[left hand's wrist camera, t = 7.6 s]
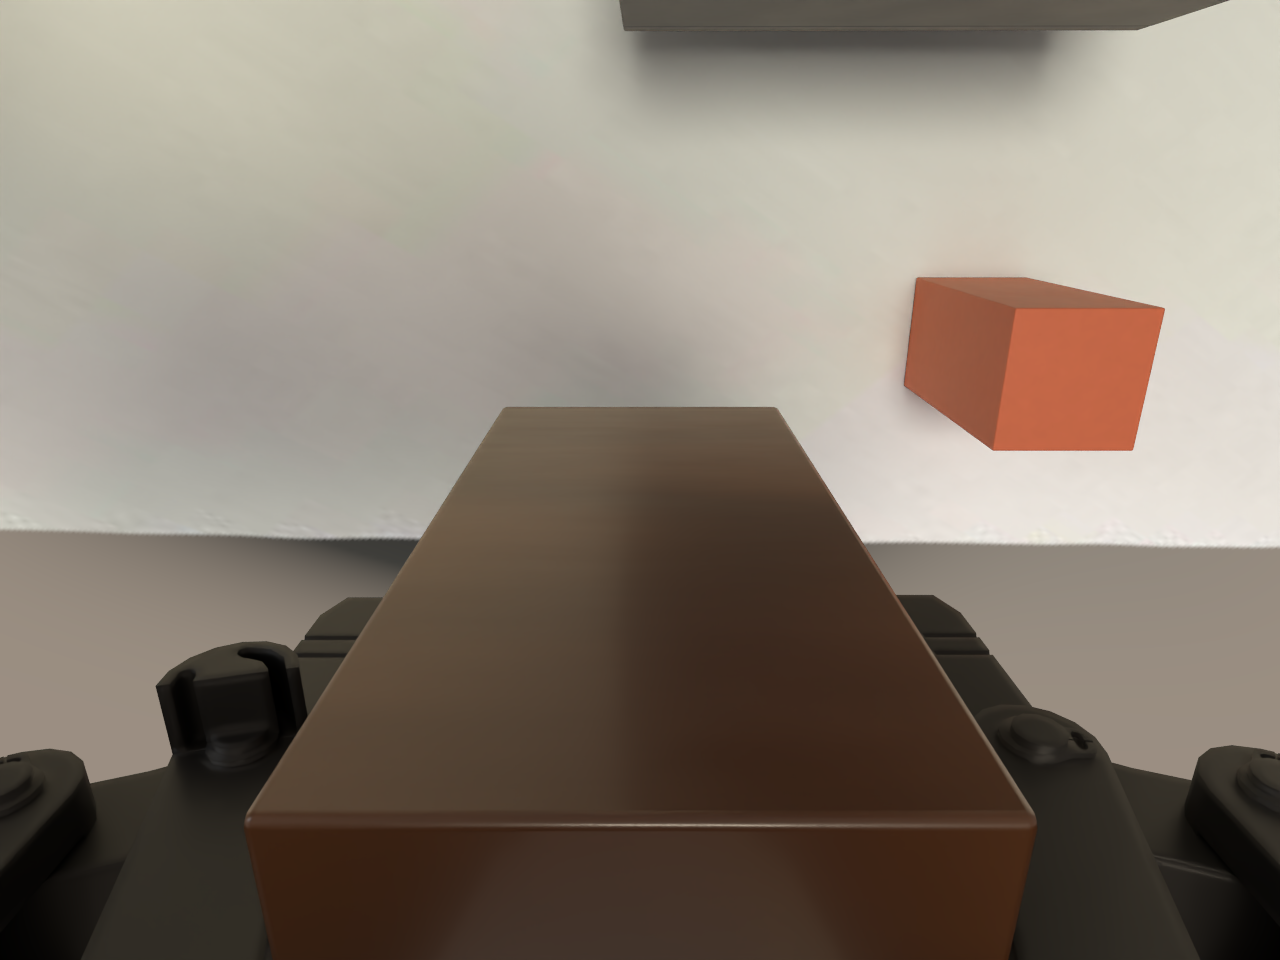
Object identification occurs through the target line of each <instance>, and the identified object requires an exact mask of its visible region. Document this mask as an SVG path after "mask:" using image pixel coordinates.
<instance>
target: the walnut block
mask: <svg viewBox="0 0 1280 960" xmlns="http://www.w3.org/2000/svg"><path fill="white" fill-rule="evenodd" d="M244 833H245V837H246V842H247V846H248V851H249V855H250V860H251V864H252V869H253V873H254V878H255V882H256V887H257V891H258V896H259V900H260V905H261V909H262V914H263V918H264V923H265V927H266V932H267V936H268V941H269V945H270V950H271V954H272V959H273V960H1008V959H1009V955H1010V950H1011V946H1012V941H1013V937H1014V932H1015V928H1016V923H1017V919H1018V914H1019V910H1020V905H1021V901H1022V896H1023V892H1024V887H1025V883H1026V878H1027V874H1028V869H1029V865H1030V860H1031V855H1032V851H1033V846H1034V842H1035V837H1036V833H1037V820H1036V817H1035V813H1034V812H1033V810H1032V808H1031V807H1030V805H1029V804H1028V802H1027V800H1026V799H1025V797H1024V796H1023V794H1022V793H1021V791H1020V789H1019V788H1018V786H1017V785H1016V783H1015V782H1014V780H1013V778H1012V777H1011V775H1010V774H1009V772H1008V771H1007V769H1006V767H1005V766H1004V764H1003V763H1002V761H1001V760H1000V758H999V756H998V755H997V753H996V752H995V750H994V749H993V747H992V745H991V744H990V742H989V741H988V739H987V738H986V736H985V734H984V733H983V731H982V730H981V728H980V727H979V725H978V723H977V722H976V720H975V719H974V717H973V716H972V714H971V712H970V711H969V709H968V708H967V706H966V705H965V703H964V701H963V700H962V698H961V697H960V695H959V694H958V692H957V690H956V689H955V687H954V686H953V684H952V683H951V681H950V679H949V678H948V676H947V675H946V673H945V672H944V670H943V668H942V667H941V665H940V664H939V662H938V660H937V659H936V657H935V656H934V654H933V653H932V651H931V649H930V648H929V646H928V645H927V643H926V642H925V640H924V638H923V637H922V635H921V634H920V632H919V631H918V629H917V627H916V626H915V624H914V623H913V621H912V620H911V618H910V616H909V615H908V613H907V612H906V610H905V609H904V607H903V605H902V604H901V602H900V601H899V599H898V598H897V596H896V594H895V593H894V591H893V590H892V588H891V587H890V585H889V583H888V582H887V580H886V579H885V577H884V576H883V574H882V573H881V571H880V569H879V568H878V566H877V565H876V563H875V561H874V560H873V558H872V557H871V555H870V554H869V552H868V550H867V549H866V547H865V546H864V544H863V543H862V541H861V539H860V538H859V536H858V535H857V533H856V532H855V530H854V528H853V527H852V525H851V524H850V522H849V520H848V519H847V517H846V516H845V514H844V513H843V511H842V509H841V508H840V506H839V505H838V503H837V502H836V500H835V498H834V497H833V495H832V494H831V492H830V491H829V489H828V487H827V486H826V484H825V483H824V481H823V480H822V478H821V476H820V475H819V473H818V472H817V470H816V469H815V467H814V465H813V464H812V462H811V461H810V459H809V458H808V456H807V454H806V453H805V451H804V450H803V448H802V447H801V445H800V443H799V442H798V440H797V439H796V437H795V436H794V434H793V432H792V431H791V429H790V428H789V426H788V425H787V423H786V421H785V420H784V418H783V417H782V415H781V414H780V412H779V410H778V409H777V408H775V407H506V408H503V409H502V411H501V413H500V414H499V416H498V417H497V419H496V421H495V422H494V424H493V425H492V427H491V428H490V430H489V432H488V433H487V435H486V436H485V438H484V439H483V441H482V443H481V444H480V446H479V447H478V449H477V450H476V452H475V454H474V455H473V457H472V458H471V460H470V462H469V463H468V465H467V466H466V468H465V469H464V471H463V473H462V474H461V476H460V477H459V479H458V480H457V482H456V484H455V485H454V487H453V488H452V490H451V491H450V493H449V495H448V496H447V498H446V499H445V501H444V503H443V504H442V506H441V507H440V509H439V510H438V512H437V514H436V515H435V517H434V518H433V520H432V521H431V523H430V525H429V526H428V528H427V529H426V531H425V532H424V534H423V536H422V537H421V539H420V540H419V542H418V544H417V545H416V547H415V548H414V550H413V552H412V553H411V555H410V556H409V558H408V559H407V561H406V563H405V564H404V566H403V567H402V569H401V570H400V572H399V573H398V575H397V577H396V578H395V580H394V581H393V583H392V585H391V586H390V588H389V589H388V591H387V593H386V594H385V596H384V597H383V599H382V600H381V602H380V603H379V605H378V607H377V608H376V610H375V611H374V613H373V614H372V616H371V618H370V619H369V621H368V622H367V624H366V626H365V627H364V629H363V630H362V632H361V633H360V635H359V637H358V638H357V640H356V641H355V643H354V644H353V646H352V648H351V649H350V651H349V652H348V654H347V655H346V657H345V659H344V660H343V662H342V663H341V665H340V667H339V668H338V670H337V671H336V673H335V674H334V676H333V678H332V679H331V681H330V682H329V684H328V685H327V687H326V689H325V690H324V692H323V693H322V695H321V696H320V698H319V700H318V701H317V703H316V704H315V706H314V708H313V709H312V711H311V712H310V714H309V715H308V717H307V719H306V720H305V722H304V723H303V725H302V726H301V728H300V730H299V731H298V733H297V734H296V736H295V737H294V739H293V741H292V742H291V744H290V745H289V747H288V749H287V750H286V752H285V753H284V755H283V756H282V758H281V760H280V761H279V763H278V764H277V766H276V767H275V769H274V771H273V772H272V774H271V775H270V777H269V778H268V780H267V782H266V783H265V785H264V786H263V788H262V790H261V791H260V793H259V794H258V796H257V797H256V799H255V801H254V802H253V804H252V805H251V807H250V808H249V810H248V812H247V814H246V817H245V820H244Z"/></svg>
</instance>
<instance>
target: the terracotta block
mask: <svg viewBox="0 0 1280 960" xmlns="http://www.w3.org/2000/svg"><path fill="white" fill-rule="evenodd" d="M1164 311H1165V309H1164V308H1162V307H1157V306H1153V305H1148V304H1144V303H1139V302H1134V301H1130V300H1125V299H1121V298H1116V297H1112V296H1107V295H1103V294H1098V293H1094V292H1089V291H1084V290H1080V289H1075V288H1071V287H1066V286H1062V285H1057V284H1053V283H1048V282H1044V281H1039V280H1034V279H1030V278H917V281H916V289H915V297H914V306H913V314H912V323H911V331H910V340H909V348H908V357H907V365H906V374H905V382H904V386H905V387H907V388H908V389H910V390H911V391H912V392H914V393H915V394H916V395H918V396H919V397H920V398H922V399H923V400H925V401H926V402H927V403H929V404H930V405H931V406H933V407H934V408H936V409H937V410H938V411H940V412H941V413H942V414H944V415H945V416H946V417H948V418H949V419H951V420H952V421H953V422H955V423H956V424H957V425H959V426H960V427H962V428H963V429H964V430H966V431H967V432H968V433H970V434H971V435H973V436H974V437H975V438H977V439H978V440H979V441H981V442H982V443H983V444H985V445H986V446H988V447H989V448H990V449H992V450H993V451H1131V450H1133V448H1134V443H1135V439H1136V434H1137V430H1138V426H1139V421H1140V417H1141V412H1142V408H1143V404H1144V399H1145V395H1146V390H1147V386H1148V382H1149V377H1150V373H1151V368H1152V364H1153V360H1154V355H1155V351H1156V346H1157V342H1158V338H1159V333H1160V329H1161V324H1162V320H1163V316H1164Z"/></svg>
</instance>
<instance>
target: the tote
mask: <svg viewBox="0 0 1280 960" xmlns="http://www.w3.org/2000/svg"><path fill="white" fill-rule="evenodd" d="M1225 1H1228V0H619V2H620V8H621V14H622V21H623V27H624V30H625V31H924V30H1139V29H1142V28H1145V27H1148V26H1152V25H1155V24H1158V23H1161V22H1164V21H1167V20H1170V19H1173V18H1176V17H1179V16H1182V15H1185V14H1189V13H1192V12H1195V11H1198V10H1201V9H1204V8H1207V7H1210V6H1213V5H1216V4H1219V3H1222V2H1225Z"/></svg>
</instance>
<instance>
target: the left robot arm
mask: <svg viewBox="0 0 1280 960" xmlns="http://www.w3.org/2000/svg"><path fill="white" fill-rule="evenodd" d="M443 503H444V502H443ZM896 596H897V598H898V599H899V601H900V602H901V604H902V605H903V607H904V609H905V610H906V612H907V613H908V615H909V616H910V618H911V620H912V621H913V623H914V624H915V626H916V627H917V629H918V631H919V632H920V634H921V635H922V637H923V638H924V640H925V642H926V643H927V645H928V646H929V648H930V649H931V651H932V653H933V654H934V656H935V657H936V659H937V660H938V662H939V664H940V665H941V667H942V668H943V670H944V672H945V673H946V675H947V676H948V678H949V679H950V681H951V683H952V684H953V686H954V687H955V689H956V690H957V692H958V694H959V695H960V697H961V698H962V700H963V701H964V703H965V705H966V706H967V708H968V709H969V711H970V712H971V714H972V716H973V717H974V719H975V720H976V722H977V723H978V725H979V727H980V728H981V730H982V731H983V733H984V734H985V736H986V738H987V739H988V741H989V742H990V744H991V745H992V747H993V749H994V750H995V752H996V753H997V755H998V756H999V758H1000V760H1001V761H1002V763H1003V764H1004V766H1005V767H1006V769H1007V771H1008V772H1009V774H1010V775H1011V777H1012V778H1013V780H1014V782H1015V783H1016V785H1017V786H1018V788H1019V789H1020V791H1021V793H1022V794H1023V796H1024V797H1025V799H1026V800H1027V802H1028V804H1029V805H1030V807H1031V808H1032V810H1033V812H1034V813H1035V817H1036V820H1037V833H1036V837H1035V842H1034V846H1033V851H1032V855H1031V860H1030V865H1029V869H1028V874H1027V878H1026V883H1025V887H1024V892H1023V896H1022V901H1021V905H1020V910H1019V914H1018V919H1017V923H1016V928H1015V932H1014V937H1013V941H1012V946H1011V950H1010V955H1009V959H1008V960H1280V754H1276V753H1274V752H1272V751H1268V750H1263V749H1258V748H1250V747H1241V746H1233V745H1231V746H1224V747H1217V748H1211V749H1209V750H1208V751H1206V752H1205V753H1204V754H1203V755H1201V756H1200V757H1199V758H1198V762H1197V765H1196V768H1195V772H1194V775H1193V778H1192V780H1187V779H1183V778H1178V777H1173V776H1168V775H1163V774H1158V773H1153V772H1149V771H1144V770H1139V769H1134V768H1130V767H1126V766H1122V765H1119V764H1115V763H1111V760H1110V758H1109V756H1108V754H1107V752H1106V751H1105V750H1104V748H1103V747H1102V746H1101V744H1100V743H1099V742H1098V740H1097V739H1096V738H1095V737H1094V736H1093V735H1091V734H1090V733H1089V732H1087V731H1086V730H1085V729H1083V728H1082V727H1080V726H1079V725H1078V724H1076V723H1075V722H1073V721H1071V720H1068V719H1066V718H1064V717H1062V716H1059V715H1057V714H1055V713H1053V712H1050V711H1046V710H1042V709H1038V708H1034V707H1032V706H1031V705H1030V703H1029V702H1028V701H1027V699H1026V698H1025V697H1024V695H1023V694H1022V693H1021V692H1020V690H1019V689H1018V688H1017V686H1016V685H1015V684H1014V682H1013V681H1012V680H1011V678H1010V677H1009V676H1008V674H1007V673H1006V672H1005V671H1004V669H1003V668H1002V667H1001V665H1000V664H999V663H998V661H997V660H996V659H995V657H994V656H993V655H990V654H989V650H988V648H987V647H986V646H985V644H984V643H983V642H982V640H981V639H980V638H979V637H976V632H975V631H974V630H973V629H972V627H971V626H970V625H969V623H968V622H967V621H966V619H965V618H964V617H963V615H962V614H961V613H960V612H958V611H957V610H955V609H954V608H952V607H951V606H949V605H948V604H946V603H945V602H943V601H941V600H940V599H938V598H937V597H935V596H934V595H896ZM382 599H383V598H346V599H345V600H343V601H342V602H340V603H339V604H337V605H336V606H334V607H332V608H331V609H329V610H328V611H326V612H325V613H323V614H322V615H320V617H319V618H318V619H317V621H316V622H315V623H314V624H313V626H312V627H311V629H310V630H309V631H308V633H307V634H306V635H305V640H302V641H301V642H300V643H299V644H298V646H297V647H296V648H295V650H294V651H292V650H291V649H290V648H288V647H287V646H285V645H281V644H276V643H272V642H267V641H265V642H241V643H236V644H231V645H227V646H222V647H217V648H214V649H211V650H209V651H206V652H204V653H201V654H198V655H196V656H193V657H191V658H189V659H187V660H186V661H184V662H183V663H181V664H179V665H178V666H176V667H175V668H173V669H171V670H170V671H169V672H168V673H167V674H166V675H165V676H164V677H163V678H162V679H161V681H160V682H159V683H158V684H157V685H156V689H157V693H158V697H159V701H160V705H161V709H162V713H163V717H164V721H165V725H166V729H167V733H168V737H169V741H170V745H171V749H172V753H173V755H172V757H171V760H170V762H169V764H168V766H167V767H163V768H160V769H156V770H152V771H148V772H144V773H139V774H134V775H129V776H124V777H119V778H115V779H110V780H105V781H100V782H95V783H91V784H90V783H89V779H88V776H87V773H86V769H85V766H84V763H83V761H82V760H81V759H80V758H79V757H77V756H76V755H75V754H73V753H72V752H69V751H62V750H55V749H43V750H35V751H27V752H20V753H16V754H12V755H8V756H7V757H1V758H0V960H273V959H272V954H271V950H270V945H269V941H268V936H267V932H266V927H265V923H264V918H263V914H262V909H261V905H260V900H259V896H258V891H257V887H256V882H255V878H254V873H253V869H252V864H251V860H250V855H249V851H248V846H247V842H246V837H245V833H244V820H245V817H246V814H247V812H248V810H249V808H250V807H251V805H252V804H253V802H254V801H255V799H256V797H257V796H258V794H259V793H260V791H261V790H262V788H263V786H264V785H265V783H266V782H267V780H268V778H269V777H270V775H271V774H272V772H273V771H274V769H275V767H276V766H277V764H278V763H279V761H280V760H281V758H282V756H283V755H284V753H285V752H286V750H287V749H288V747H289V745H290V744H291V742H292V741H293V739H294V737H295V736H296V734H297V733H298V731H299V730H300V728H301V726H302V725H303V723H304V722H305V720H306V719H307V717H308V715H309V714H310V712H311V711H312V709H313V708H314V706H315V704H316V703H317V701H318V700H319V698H320V696H321V695H322V693H323V692H324V690H325V689H326V687H327V685H328V684H329V682H330V681H331V679H332V678H333V676H334V674H335V673H336V671H337V670H338V668H339V667H340V665H341V663H342V662H343V660H344V659H345V657H346V655H347V654H348V652H349V651H350V649H351V648H352V646H353V644H354V643H355V641H356V640H357V638H358V637H359V635H360V633H361V632H362V630H363V629H364V627H365V626H366V624H367V622H368V621H369V619H370V618H371V616H372V614H373V613H374V611H375V610H376V608H377V607H378V605H379V603H380V602H381V600H382Z"/></svg>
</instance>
